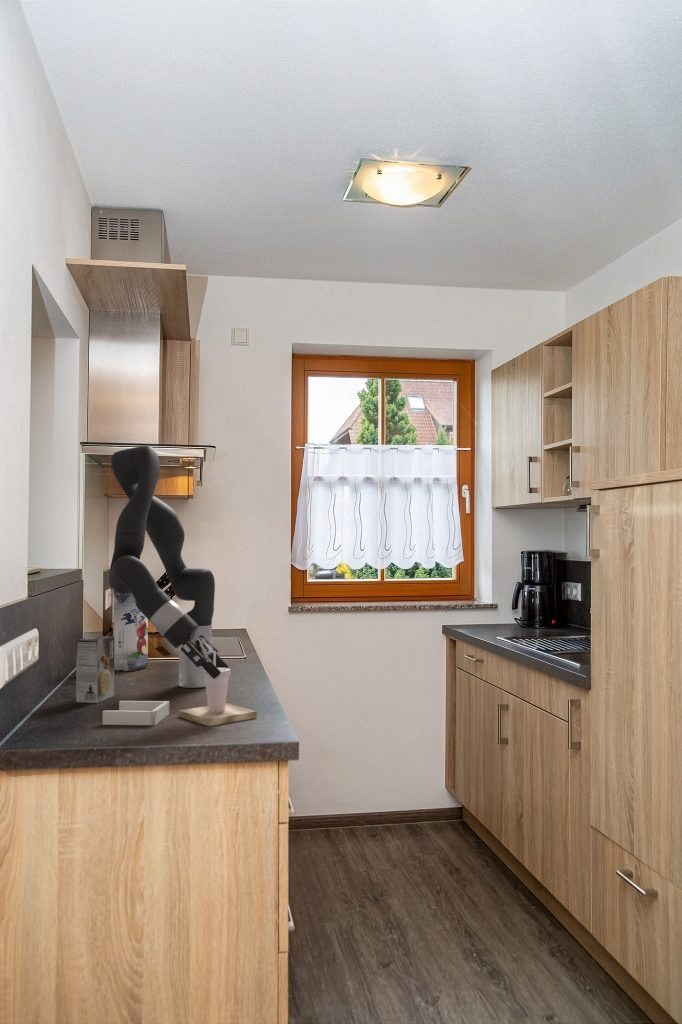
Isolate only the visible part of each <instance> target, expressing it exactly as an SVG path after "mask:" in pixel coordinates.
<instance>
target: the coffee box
mask: <svg viewBox="0 0 682 1024" xmlns="http://www.w3.org/2000/svg"><path fill="white" fill-rule="evenodd" d="M75 642H76V645H75V646H76V653H75V654H76V655H75V656H76V657H75V658H76V663H75V664H76V665H75V667H76V669H75V670H76V671H75V672H76V673H75V674H76V675H75V676H76V685H75V686H76V687H75V688H76V693H75V694H76V696H75V698H76V700H75V702H76V703H89V704H90V703H91V704H99V703H101V702H103V701H106V700H109V699H111V698H113V697H115V670H114V636H113V635H111V636H109V635H108V636H107V635H93V636H88V637H85V638H80V639H76V641H75Z"/></svg>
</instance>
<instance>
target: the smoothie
mask: <svg viewBox="0 0 682 1024" xmlns="http://www.w3.org/2000/svg"><path fill="white" fill-rule="evenodd" d="M213 664H214V665H215V666H216V651H213ZM217 668H218V669H219V670H220V671H221V673H220V675H219V676H218V677H217V678H215V679H213V678H212V677H211V676H210V675H209V674H208V673H207V672H206V671H205V670H203V675H205V684H206V687H205V690H206V698H207V699H206V700H207V706H208V709H209V712H212V713H219V712H224V711H225V704H226V703H227V695H228V686H229V678H230V675H231V668H229V667H228V668H221V667H217Z"/></svg>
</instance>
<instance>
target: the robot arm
mask: <svg viewBox="0 0 682 1024" xmlns="http://www.w3.org/2000/svg"><path fill="white" fill-rule="evenodd" d="M110 463H111V469H112V472H113V475H114V477H115V479H116V481H117V483H118V484H119V486H120V487H121V489H122V490H123V493H124V494H125V495H126V497H127V498H128V499H129V500H128V502H127V503H126V504H125V507H124V508H123V509H122V511H121V512H120V514H119V516H118V519H117V522H116V526H115V536H114V548H113V554H112V556H111V557H112V558H111V563H110V567H109V573H108V583H109V586H110V588H111V589H112V591H113V590H114V591H115V592H117V593H120V594H127V593H130V592H131V593H132V594H133V595H134V597H135V604H136V606H137V608H138V609H139V610H140V611H141V612H142V613H143V614H144V615H145V617H146V618H147V619H148V621H149V622H150V623H151V625H152V626H153V627H154V628H155V629H156V630H157V632H158V633H159V634H160V635H161V636H163V638H164V639H165V640H166V641H167V642H168V643H169V644H170V645H171V647H173V649H174V648H175V649H178V687H180V688H181V687H182V688H189V689H190V688H191V689H193V688H194V689H195V688H197V689H198V688H206V684H205V675H203V670H205V671H206V672H207V673H208V674H209V675H210V676H211V677H212V678H213V679H215V678H217V677H218V676H219V675H220V673H221V671H220V670H219V669H218V668H217V667H221V668H229V665H228V663H226V662H225V661H224V659H222V657H220V656H219V650H218V649H217V648H216V647H215V646H214V645H213V642H212V641H213V635H212V633H213V618H214V617H213V616H214V612H215V611H214V610H215V595H216V594H215V592H216V590H215V589H216V585H215V584H216V583H215V582H216V580H215V577H214V574H213V572H212V571H211V570H210V569H208V568H188V567H187V566H186V563H185V562H184V560H183V556H182V551H183V547H184V544H185V543H184V542H185V539H186V538H185V530H184V527H183V525H182V523H181V521H180V519H179V517H178V515H177V513H176V511H175V510H174V509H173V508H172V507H171V506H169V505H168V504H167V503H165V502H164V501H162V500H161V499H160V498H158V497H156V496H154V494H155V491H156V487H157V483H158V479H159V477H160V476H159V475H160V459H159V455H158V453H157V452H156V450H155V448H153V447H152V446H150V445H142V446H136V447H130V448H125V449H121V450H118V451H115V452H114V453H113V454H112V455H111V459H110ZM146 533H147V536H148V538H149V539H150V541H151V544H152V545H153V547H154V548H155V551H156V553H157V554H158V556H159V559H160V561H161V563H162V566H163V567H164V569H165V573H166V574H167V575H166V576H167V578H168V581H169V582H170V585H171V588H172V590H173V592H174V594H175V596H176V597H177V599H180V600H181V601H190V602H191V601H192V602H194V604H193V607H192V609H190V610H189V611H187V612H186V611H185V610H184V609H183V608H182V607H181V606H180V605H179V604H177V603H176V602H175V601H174V600H172V598H170V596H169V595H168V594H167V593H166V592H165V591H164V590H163V589H162V588H160V586H159V585H158V583H157V581H156V580H155V578H154V577H153V575H152V574H151V571H149V569H148V568H147V566H146V565H145V564H144V562H143V561H141V556H142V553H143V551H144V550H143V549H144V546H145V540H146V538H145V537H146ZM213 651H216V666H215V665H214V664H213Z"/></svg>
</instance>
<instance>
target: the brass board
mask: <svg viewBox="0 0 682 1024" xmlns="http://www.w3.org/2000/svg"><path fill="white" fill-rule="evenodd" d="M257 714H258V712H257V710H253V709H250V708H246V707H242V706H238V705H234V704H232V703H227V702H226V704H225V711H224V712H219V713H212V712H209V709H208V705H205V706H200V707H199V706H198V707H192V708H187V709H180V710H179V711H178V717H179V718H181V719H185V720H186V721H187V720H188V721H191V722H195V723H198V724H199V725H200V724H201V725H204V726H206V727H213V726H218V725H223V724H230V723H235V722H241V721H245V720H246V721H247V720H251V719H257V718H258V716H257Z"/></svg>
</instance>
